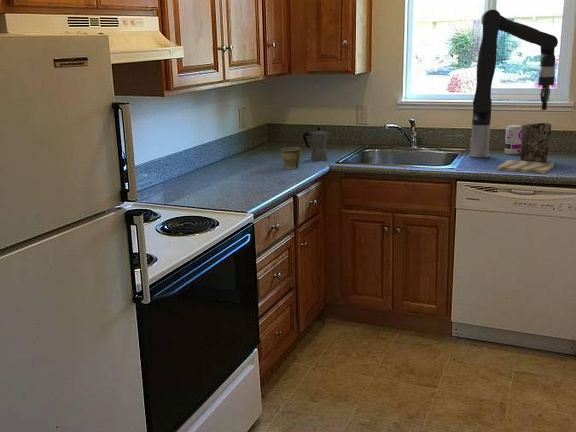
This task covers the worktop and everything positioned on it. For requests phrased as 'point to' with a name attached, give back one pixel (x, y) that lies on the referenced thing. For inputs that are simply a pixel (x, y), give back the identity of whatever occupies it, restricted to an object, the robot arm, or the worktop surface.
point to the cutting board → (525, 166)
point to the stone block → (535, 141)
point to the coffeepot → (317, 144)
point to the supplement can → (513, 139)
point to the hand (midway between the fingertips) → (544, 109)
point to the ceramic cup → (291, 157)
